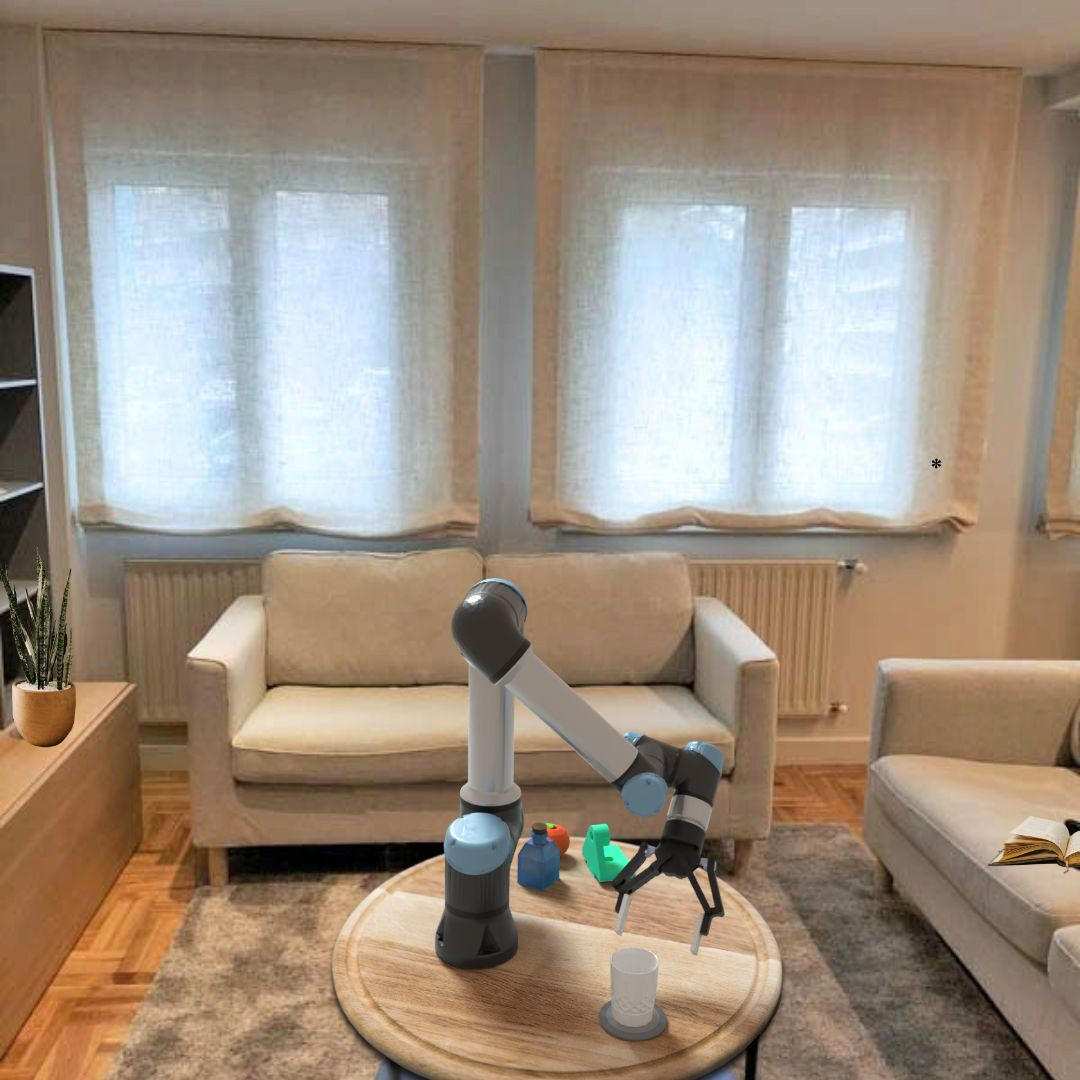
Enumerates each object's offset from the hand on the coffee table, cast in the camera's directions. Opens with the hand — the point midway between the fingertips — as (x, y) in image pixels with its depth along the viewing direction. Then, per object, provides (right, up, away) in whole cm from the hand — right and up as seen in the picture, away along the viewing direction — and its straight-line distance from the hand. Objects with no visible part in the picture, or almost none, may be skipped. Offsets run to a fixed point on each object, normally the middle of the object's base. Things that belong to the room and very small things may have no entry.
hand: (655, 943), depth 194 cm
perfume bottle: (-20, -1, +37) cm, 42 cm away
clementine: (-17, +2, +47) cm, 51 cm away
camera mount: (-5, 0, +42) cm, 42 cm away
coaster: (-4, -10, -8) cm, 13 cm away
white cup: (-4, -9, -8) cm, 13 cm away
